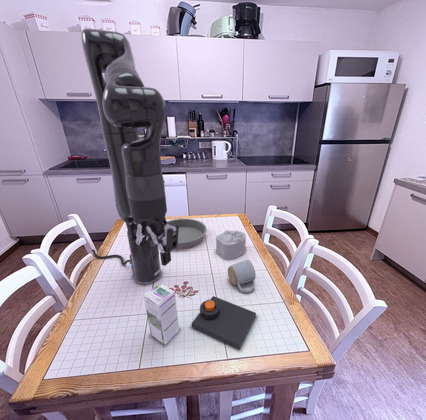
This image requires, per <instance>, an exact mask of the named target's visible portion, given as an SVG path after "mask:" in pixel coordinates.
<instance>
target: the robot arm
mask: <svg viewBox="0 0 426 420" xmlns="http://www.w3.org/2000/svg"><path fill="white" fill-rule="evenodd" d="M80 37H81V38H80V39H81V47H82V51H83V54H84V55H83V56H84V58H85V63H86V66H87V70H88V73H89V78H90V81H91V85H92V89H93V92H94V96H95V101H96V104H97V111H98V116H99V121H100V127H101V132H102V137H103V141H104V147H105V150H106V153H107V157H108V162H109V167H110V172H111V173H110V174H111V178H112V185H113V194H114V202H115V207H116V211H117V214H118V216H119V218H120V220H122V222H123V223H125V226H126V229H127V231H126V235H127V241H128V246H129V251H130V254H129V259H126V260H125V261H124V258H123V257H122V256H121V255H119V254H110V255H109V254H108V255H104V256H102V255H101V256H100V255H98V254H97V253H96V250H95V249H91V253H93V256H94V257H95V258H97V259H109V258H119V259H120V262H121V265H122V266H125V265H127V263H129V265H130V267H131V272H132V277H133V278H134V280H135V282H136V283H137V284H140V285H150V284H153V283H156V282H157V281H158V280H159V279H160V278H161V277H162V269H161V266H163V267H166V266H167V265H169V263H171V262H172V255H171V254H172V253H171V252H173V251H174V250H176V249H175V248H177V246H178V231H179V227H178V226H177V225H174V226H171V225H169V224H168V223H167V221H168V220H167V219H166V215H167V212H168V208H167V195H166V188H165V179H164V176H163V168H162V159H161V141H162V134H163V128H164V122H165V118H166V102H165V99H164V97H163V95H162V93H161V92H160V91H159V90H158V89H157V88H155V87H151V86H150V87H149V86H145V83H144V82H143V80H142V78H141V76H140V74H139V72H138V70H137V66H136V61H135V58H134V53H133V50H132V47H131V43H130V41H129V39H128V38H127V37H126V35H125V34H124V33H121V32H119V31H115V30H114V31H113V30H104V29H96V28H83V29H82V30H81V34H80ZM138 129H146V132H145V133H144V135H143V136H142V137H141V138H139V137H140V136H139V132H138ZM161 235H162V237H161V238H160V239H158V237H159V236H161ZM163 241H164V243H165V246H164V245H163V243H162V242H163ZM159 251H160V252H159Z"/></svg>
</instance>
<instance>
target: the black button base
mask: <svg viewBox="0 0 426 420" xmlns="http://www.w3.org/2000/svg"><path fill="white" fill-rule="evenodd" d="M209 300H211V301H214V302H215V309H214V310H213V311H212V312H208V311H206V310H205V303H206V302H207V301H209ZM256 316H257V312H255V311H254V310H253V311H252V310H251V309H247V308H245V307H242V306H240V305H237V304H234V303H232V302H230V301H227V300H224V299H222V298H219V297H218V296H214V295H212V297H211V298H210V299H206V300H204V301H202V302H201V304H200V305H199V313H198V315H197V316H196V317H195V318H194V320H192V322H191V328H192V329H194V330H197V331H199V332H201V333H203V334H205V335H208V336H210V337H211V338H213V339H215V340H218V341H220V342H222V343H224V344H226V345H229V346H230V347H233V348H235V349H237V350H241V347H242V345H243V343H244V341H245V339H246V337H247V335H248V333H249V332H250V329H251V328H252V325H253V324H254V321H255V319H256Z"/></svg>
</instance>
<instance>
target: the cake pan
mask: <svg viewBox="0 0 426 420" xmlns="http://www.w3.org/2000/svg"><path fill="white" fill-rule="evenodd" d="M166 221H167V223H168V224H169V225H171V226H174V225H177V226H178V227H179V231H178V246H177V248H175V249H174V250H183V249H190V248H192V247H194V246H197V245H198V244H200V243H201V242H203V239H204V236H205V235H206V233H207V231H208V228H207V225H206V223H203V222H202V221H200V220H197V219H192V218H177V219H171V220H166ZM161 237H162V235H161V236H159V237H158V239H160V238H161ZM162 243H163V245H164V246H165V243H164V241H163V242H162Z"/></svg>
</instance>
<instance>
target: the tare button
mask: <svg viewBox="0 0 426 420" xmlns="http://www.w3.org/2000/svg"><path fill="white" fill-rule="evenodd" d="M208 300H209V301H207V302H206V303H205V310H206V311H208V312H212V311H213V310H214V309H215V302H214V301H211V300H210V299H208Z"/></svg>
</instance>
